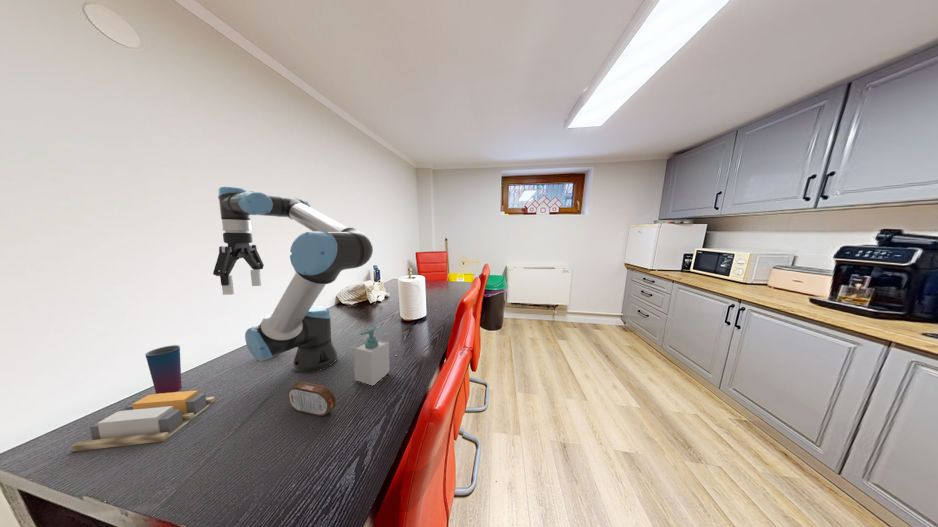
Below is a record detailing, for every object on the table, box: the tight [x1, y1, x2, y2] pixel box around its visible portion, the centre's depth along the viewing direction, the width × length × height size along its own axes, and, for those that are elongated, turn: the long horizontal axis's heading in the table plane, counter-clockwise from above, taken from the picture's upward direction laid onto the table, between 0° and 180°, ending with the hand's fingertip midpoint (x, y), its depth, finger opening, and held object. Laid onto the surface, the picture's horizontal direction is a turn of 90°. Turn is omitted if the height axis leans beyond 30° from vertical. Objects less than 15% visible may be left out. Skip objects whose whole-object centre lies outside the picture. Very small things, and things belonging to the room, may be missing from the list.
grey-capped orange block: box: [125, 390, 207, 414], centre depth 68 cm, size 16×4×5 cm, turn 100°
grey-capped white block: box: [89, 406, 183, 440], centre depth 62 cm, size 16×4×5 cm, turn 100°
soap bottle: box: [353, 326, 391, 387], centre depth 87 cm, size 9×9×19 cm
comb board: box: [71, 396, 216, 452], centre depth 65 cm, size 18×15×2 cm
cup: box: [144, 344, 182, 394], centre depth 77 cm, size 7×7×15 cm
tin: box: [287, 381, 337, 417], centre depth 70 cm, size 15×3×8 cm, turn 77°
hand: (243, 289), depth 88 cm, fingers open, 13 cm apart
